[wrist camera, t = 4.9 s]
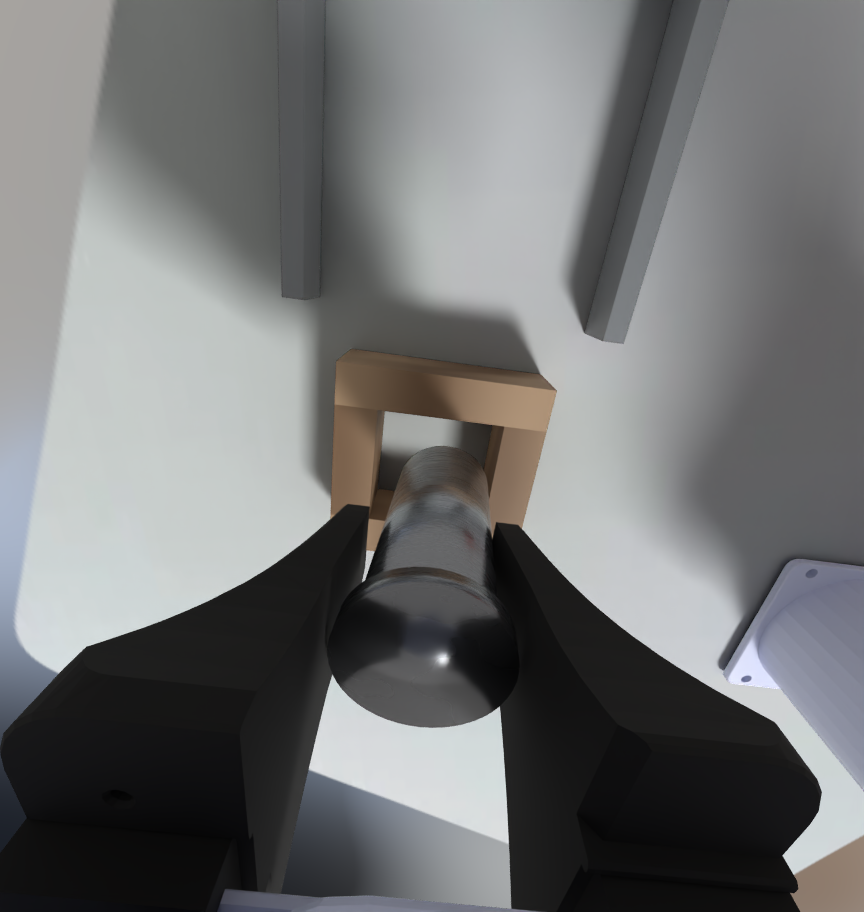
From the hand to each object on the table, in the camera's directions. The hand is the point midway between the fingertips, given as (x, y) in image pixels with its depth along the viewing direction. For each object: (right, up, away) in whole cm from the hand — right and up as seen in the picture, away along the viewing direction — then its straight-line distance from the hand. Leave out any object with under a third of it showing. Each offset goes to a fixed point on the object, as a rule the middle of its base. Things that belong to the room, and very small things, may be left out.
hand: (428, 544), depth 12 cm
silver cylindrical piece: (0, +1, +3) cm, 3 cm away
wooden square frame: (0, +3, +6) cm, 7 cm away
